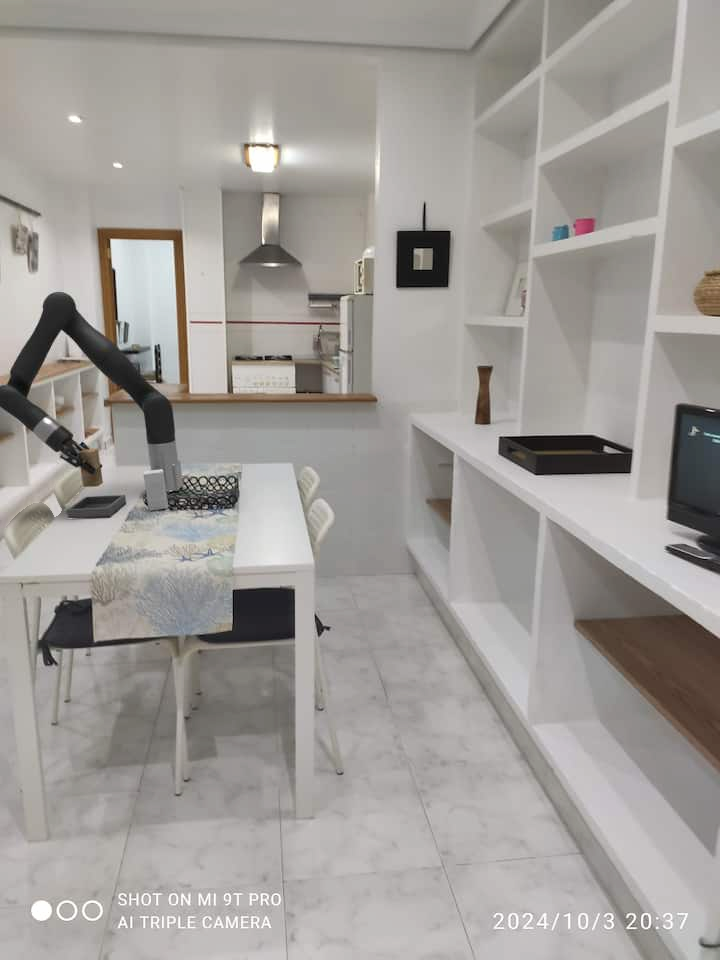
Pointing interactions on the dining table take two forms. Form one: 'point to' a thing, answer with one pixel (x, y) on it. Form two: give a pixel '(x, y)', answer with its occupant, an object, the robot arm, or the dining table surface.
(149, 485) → the skincare box
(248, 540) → the dining table surface
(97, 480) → the block
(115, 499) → the tray
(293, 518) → the dining table surface
